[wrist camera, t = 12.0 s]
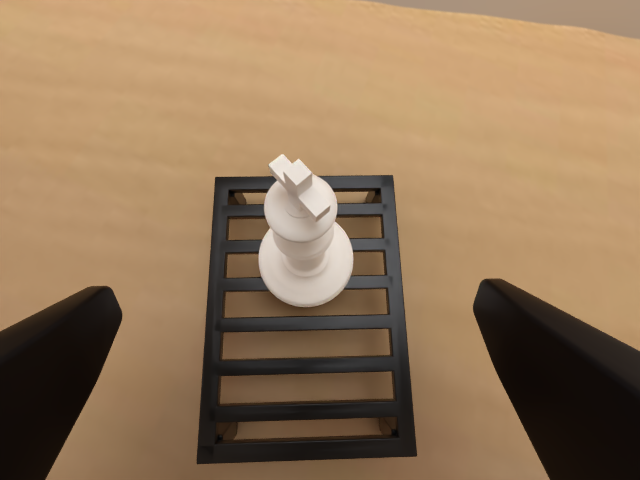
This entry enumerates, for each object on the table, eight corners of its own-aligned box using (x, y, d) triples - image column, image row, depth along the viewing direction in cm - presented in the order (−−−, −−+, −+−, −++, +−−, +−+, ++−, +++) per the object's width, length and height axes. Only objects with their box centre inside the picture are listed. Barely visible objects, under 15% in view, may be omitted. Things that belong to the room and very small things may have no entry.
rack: (397, 429, 17) (417, 456, 14) (219, 435, 17) (195, 464, 14) (380, 198, 21) (393, 175, 17) (231, 199, 21) (214, 176, 17)
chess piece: (301, 328, 15) (281, 348, 6) (239, 254, 16) (130, 160, 6) (372, 263, 16) (463, 183, 6) (310, 196, 17) (309, 37, 7)
